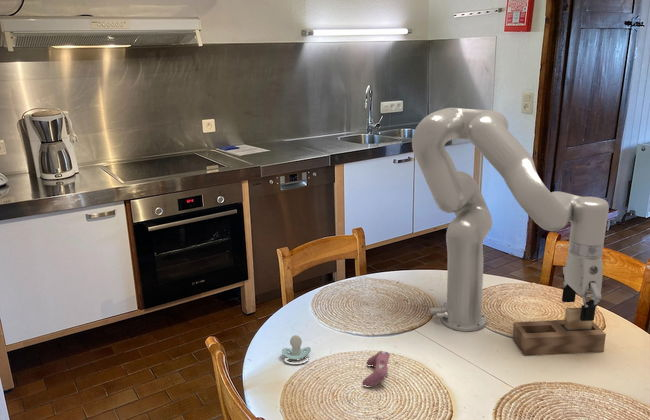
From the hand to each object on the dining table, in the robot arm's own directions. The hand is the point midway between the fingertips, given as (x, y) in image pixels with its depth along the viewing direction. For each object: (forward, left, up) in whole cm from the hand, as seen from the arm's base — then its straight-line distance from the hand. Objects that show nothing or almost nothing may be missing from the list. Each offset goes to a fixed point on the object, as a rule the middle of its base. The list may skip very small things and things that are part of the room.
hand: (577, 310), depth 132 cm
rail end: (0, 0, -10) cm, 10 cm away
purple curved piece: (-52, -10, -10) cm, 54 cm away
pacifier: (-72, -1, -10) cm, 72 cm away
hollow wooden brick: (-4, 0, -10) cm, 11 cm away
